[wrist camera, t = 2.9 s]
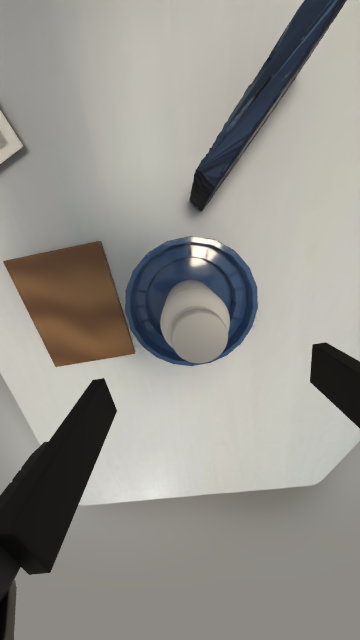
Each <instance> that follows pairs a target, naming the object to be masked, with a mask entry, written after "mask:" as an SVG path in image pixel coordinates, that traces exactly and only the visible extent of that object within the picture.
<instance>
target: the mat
mask: <svg viewBox="0 0 360 640" xmlns="http://www.w3.org/2000/svg"><path fill="white" fill-rule="evenodd" d="M3 262H4V264H5V266H6V268H7V270H8V272H9V274H10V276H11V278H12V280H13V282H14V284H15V286H16V288H17V290H18V292H19V294H20V296H21V298H22V300H23V302H24V304H25V306H26V308H27V310H28V312H29V314H30V316H31V318H32V320H33V322H34V324H35V326H36V328H37V330H38V332H39V334H40V336H41V338H42V340H43V342H44V344H45V346H46V348H47V350H48V352H49V354H50V357H51V359H52V361H53V363H54V365H55V367H58V366H64V365H70V364H76V363H82V362H88V361H94V360H100V359H106V358H112V357H118V356H124V355H130V354H135V350H134V347H133V343H132V340H131V337H130V334H129V330H128V327H127V324H126V321H125V317H124V314H123V311H122V308H121V305H120V301H119V298H118V295H117V292H116V288H115V285H114V282H113V279H112V275H111V272H110V269H109V266H108V262H107V259H106V256H105V253H104V249H103V246H102V243H101V241H98V242H93V243H88V244H84V245H79V246H74V247H69V248H64V249H60V250H55V251H50V252H45V253H40V254H36V255H31V256H26V257H21V258H16V259H12V260H7V261H3Z"/></svg>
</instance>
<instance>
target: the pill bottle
mask: <svg viewBox="0 0 360 640" xmlns="http://www.w3.org/2000/svg"><path fill="white" fill-rule="evenodd" d="M160 325H161V331H162V334H163V336H164V338H165V340H166V342H167V343H168V344H169V345H170V346H171V347H172V348H173V349H174V350H175V351H176V353H177V354H178V355H179V356H180V357H181V358H182V359H184V360H186V361H188V362H191V363H206V362H209V361H212V360H214V359H215V358H217V357H218V356H219V355H220V354H221V353H222V352H223V351H224V349H225V347H226V345H227V342H228V331H229V327H230V317H229V312H228V309H227V307H226V306H225V304H224V302H223V301H222V300H221V299H220V298H219V297H218V296H217V295H216V294H215V293H214V292H213V291H211V290H210V289H209V288H208V287H207V286H206V285H205V284H203V283H202V282H199V281H196V280H184V281H181V282H179V283H178V284H176V285H175V286H174V287H173V288H172V289H171V290H170V292H169V294H168V296H167V299H166V302H165V305H164V308H163V311H162V315H161V321H160Z"/></svg>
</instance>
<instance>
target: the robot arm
mask: <svg viewBox="0 0 360 640" xmlns="http://www.w3.org/2000/svg"><path fill="white" fill-rule="evenodd" d="M310 382H311V383H312V384H313V385H314V386H315V387H316V388H317V389H318V390H319V391H320V392H321V393H323V394H324V395H325V396H326V397H327V398H328V399H329V400H330V401H331V402H332V403H333V404H334V405H335V406H336V407H338V408H339V409H340V410H341V411H342V412H343V413H344V414H345V415H346V416H347V417H348V418H349V419H350V420H351V421H353V422H354V423H355V424H356V425H357V426H358V427H359V428H360V362H359V361H358V360H356V359H354V358H352V357H351V356H349V355H347V354H345V353H343V352H342V351H340V350H338V349H336V348H335V347H333V346H331V345H329V344H328V343H320V344H313V347H312V361H311V375H310ZM116 412H117V410H116V407H115V405H114V402H113V400H112V397H111V394H110V392H109V389H108V387H107V384H106V382H105V379H104V378H103V379H97V380H93V381H92V382H91V383H90V385H89V386H88V388H87V389H86V390H85V392H84V393H83V395H82V396H81V397H80V399H79V400H78V402H77V403H76V404H75V406H74V407H73V409H72V410H71V411H70V413H69V414H68V416H67V417H66V418H65V420H64V421H63V423H62V424H61V425H60V427H59V428H58V429H57V431H56V432H55V434H54V435H53V436H52V438H51V439H50V441H49V442H44V443H43V444H42V445H41V446H40V447H39V448H38V449H37V450H36V451H35V452H34V453H32V455H31V456H30V457H29V459H28V460H27V461H26V462H25V464H24V465H23V466H22V469H21V470H20V471H19V472H18V473H17V474H16V476H15V477H14V478H13V481H12V482H11V483H10V484H9V485H8V486H7V488H6V489H5V490H4V492H3V493H2V494H1V495H0V640H14V624H15V606H16V605H15V604H16V583H15V580H14V578H15V576H16V575H17V573H18V571H19V569H20V567H22V568H23V569H24V570H25V571H26V572H27V573H28V574H29V575H31V574H41V573H50V572H51V570H52V567H53V565H54V562H55V560H56V557H57V555H58V553H59V550H60V548H61V545H62V543H63V540H64V538H65V536H66V533H67V531H68V528H69V526H70V523H71V521H72V518H73V516H74V514H75V511H76V509H77V506H78V504H79V502H80V499H81V497H82V494H83V492H84V490H85V487H86V485H87V482H88V480H89V477H90V475H91V473H92V470H93V468H94V465H95V463H96V460H97V458H98V456H99V453H100V451H101V448H102V446H103V443H104V441H105V439H106V436H107V434H108V431H109V429H110V427H111V424H112V422H113V419H114V417H115V414H116Z"/></svg>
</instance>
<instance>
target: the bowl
mask: <svg viewBox="0 0 360 640" xmlns="http://www.w3.org/2000/svg"><path fill="white" fill-rule="evenodd" d="M184 280H196V281H199V282H202V283H203V284H205V285H206V286H207V287H208V288H209V289H210V290H211V291H213V292H214V293H215V294H216V295H217V296H218V297H219V298H220V299H221V300H222V301H223V302H224V304H225V306H226V307H227V309H228V312H229V317H230V327H229V331H228V342H227V345H226V347H225V349H224V351H223V352H222V353H221V354H220V355H219V356H218V357H217V358H215V359H214V360H212V361H209V362H206V363H211V362H213V361H215V360H218V359H220V358H222V357H224V356H226V355H228V354H229V353H230V352H231V351H233V350H234V349H235V348H236V347H237V346H238V345H240V344H241V343H242V341H243V340H244V338H245V337H246V335H247V334H248V332H249V331H250V329H251V328H252V326H253V322H254V319H255V315H256V312H257V307H258V303H257V286H256V283H255V281H254V278H253V276H252V273H251V271H250V268H249V266H248V265H247V264H246V263H245V262H244V261H243V260H242V258H241V257H240V256H239V255H238V254H237V253H236V252H235V251H234V250H233V249H231V248H229V247H227V246H225V245H223V244H222V243H220V242H218V241H216V240H213V239H207V238H200V237H193V236H190V237H185V238H180V239H175V240H170V241H167V242H165V243H164V244H162V245H160V246H159V247H157V248H155V249H154V250H152V251H150V252H149V253H147V255H146V256H145V257H144V258H143V259H142V261H141V262H140V263H139V264H138V265H137V267H136V268H135V269H134V271H133V273H132V275H131V278H130V281H129V284H128V286H127V289H126V304H125V312H126V315H127V318H128V322H129V325H130V328H131V331H132V332H133V333H134V335H135V336H136V338H137V339H138V341H139V342H140V344H141V345H142V346H143V347H144V348H146V349H147V350H148V351H150V352H151V353H152V354H153V355H155V356H156V357H158V358H160V359H163V360H165V361H168V362H170V363H172V364H179V365H188V366H194V365H200V364H206V363H191V362H188V361H186V360H184V359H182V358H181V357H180V356H179V355H178V354H177V353H176V351H175V350H174V349H173V348H172V347H171V346H170V345H169V344H168V343H167V342H166V340H165V338H164V336H163V334H162V331H161V325H160V321H161V315H162V311H163V308H164V305H165V302H166V299H167V296H168V294H169V292H170V290H171V289H172V288H173V287H174V286H175V285H176V284H178V283H179V282H181V281H184Z"/></svg>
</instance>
